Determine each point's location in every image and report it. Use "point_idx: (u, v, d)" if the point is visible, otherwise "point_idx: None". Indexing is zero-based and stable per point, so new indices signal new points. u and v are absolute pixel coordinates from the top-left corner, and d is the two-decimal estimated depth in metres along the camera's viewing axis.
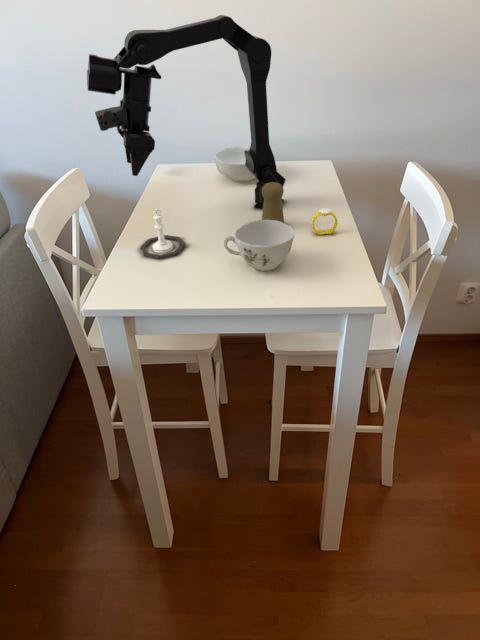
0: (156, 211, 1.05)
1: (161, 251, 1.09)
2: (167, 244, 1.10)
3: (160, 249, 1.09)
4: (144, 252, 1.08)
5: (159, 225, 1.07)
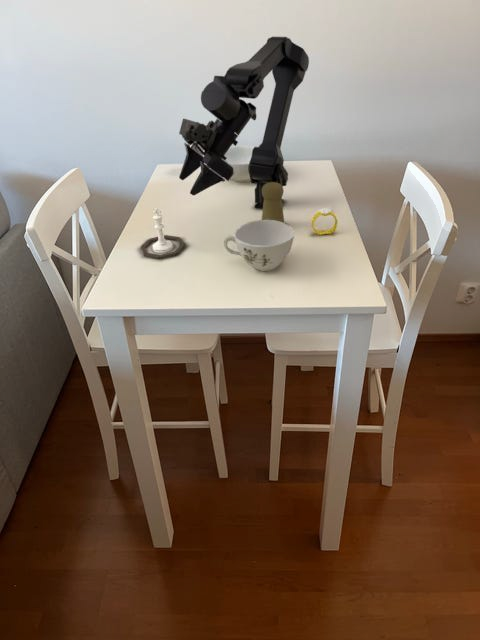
0: (156, 211, 1.05)
1: (161, 251, 1.09)
2: (167, 244, 1.10)
3: (160, 249, 1.09)
4: (144, 252, 1.08)
5: (159, 225, 1.07)
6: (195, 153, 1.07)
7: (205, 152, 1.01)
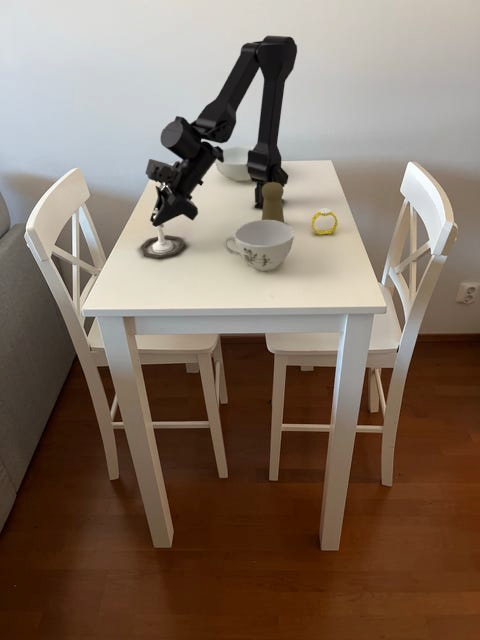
0: (156, 211, 1.05)
1: (161, 251, 1.09)
2: (167, 244, 1.10)
3: (160, 249, 1.09)
4: (144, 252, 1.08)
5: (159, 225, 1.07)
6: (166, 196, 1.06)
7: None
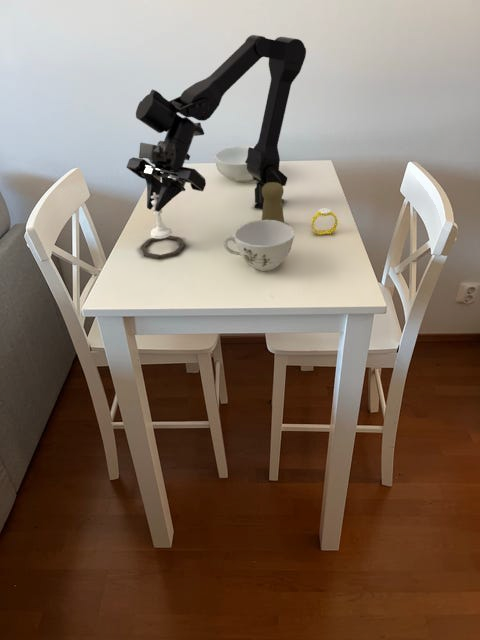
0: (154, 195, 1.03)
1: (166, 236, 1.07)
2: (166, 228, 1.08)
3: (164, 234, 1.07)
4: (144, 252, 1.08)
5: None
6: (156, 179, 1.04)
7: None
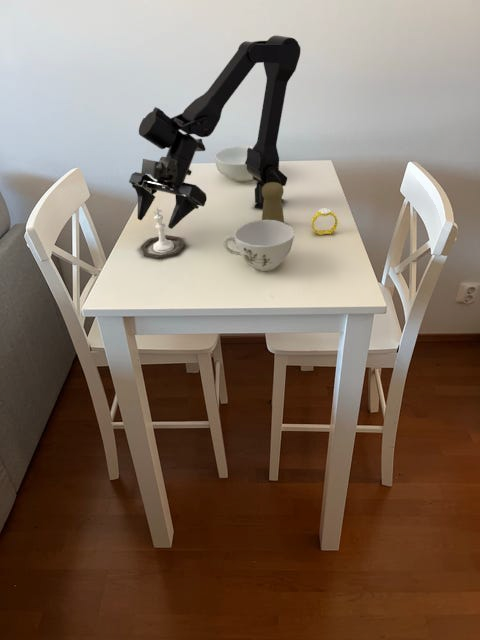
0: (157, 211, 1.05)
1: (168, 249, 1.09)
2: (168, 242, 1.11)
3: (167, 248, 1.09)
4: (144, 252, 1.08)
5: (161, 224, 1.07)
6: (146, 191, 1.08)
7: (167, 186, 1.04)
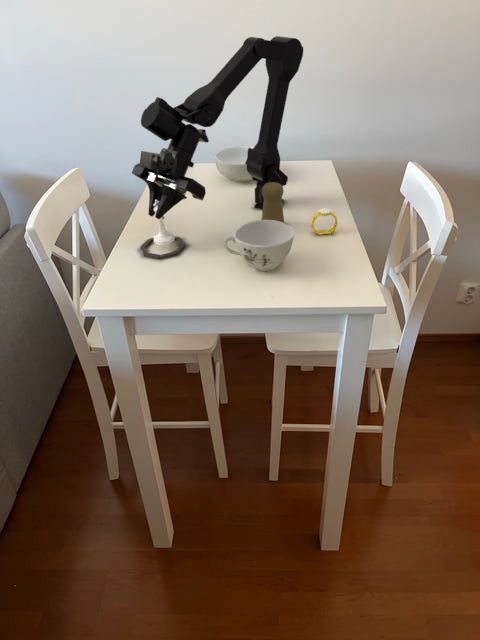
0: (157, 202, 1.03)
1: (172, 239, 1.08)
2: (168, 233, 1.10)
3: (171, 238, 1.08)
4: (144, 252, 1.08)
5: None
6: (159, 187, 1.05)
7: None
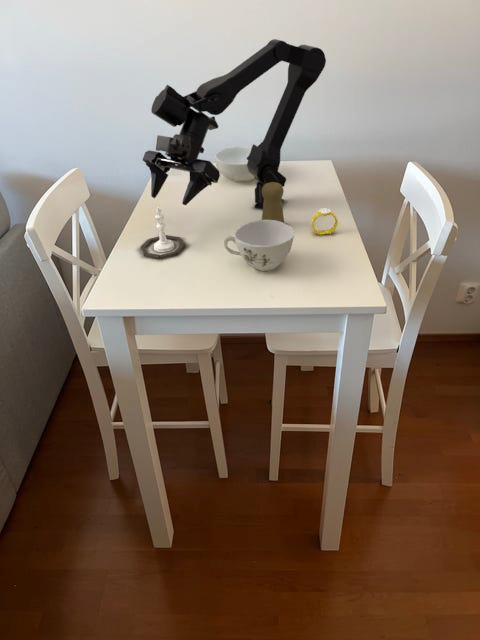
0: (158, 210, 1.05)
1: (173, 246, 1.10)
2: (167, 240, 1.11)
3: (171, 245, 1.10)
4: (144, 252, 1.08)
5: (162, 223, 1.07)
6: (160, 169, 1.09)
7: (181, 163, 1.06)
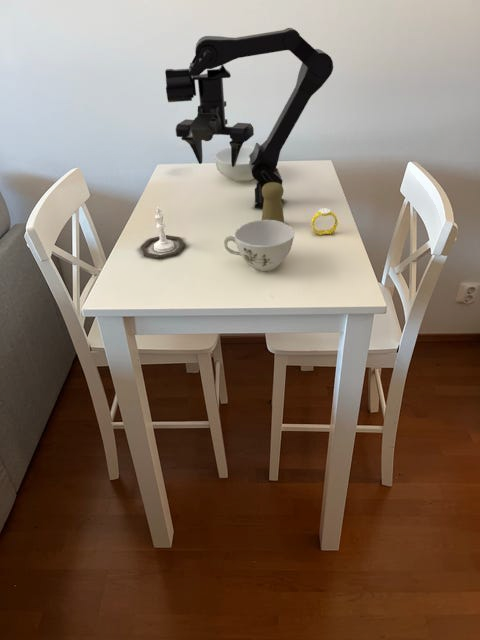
0: (158, 210, 1.05)
1: (173, 246, 1.10)
2: (167, 240, 1.11)
3: (171, 245, 1.10)
4: (144, 252, 1.08)
5: (162, 223, 1.07)
6: None
7: None
